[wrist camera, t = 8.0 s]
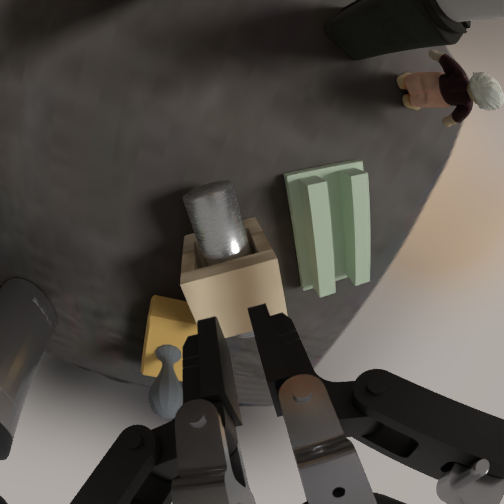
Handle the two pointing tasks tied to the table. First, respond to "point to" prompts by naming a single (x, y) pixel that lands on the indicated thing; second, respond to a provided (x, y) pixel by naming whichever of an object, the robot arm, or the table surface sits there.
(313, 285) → the cradle
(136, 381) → the table surface
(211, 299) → the beige block
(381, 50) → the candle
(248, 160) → the table surface
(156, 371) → the rubber stamp
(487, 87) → the grandmother figurine
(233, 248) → the axle
